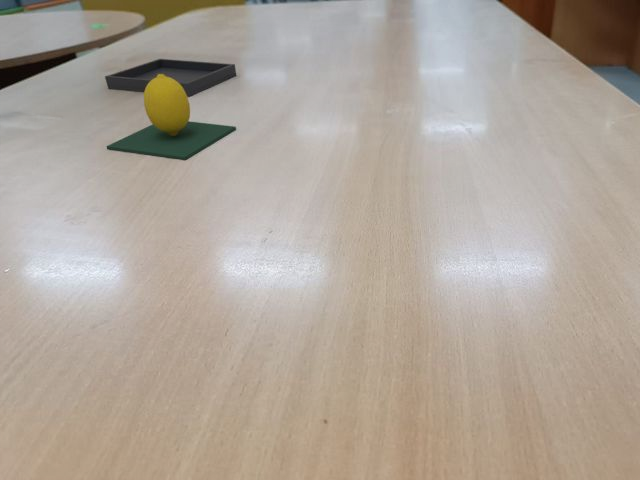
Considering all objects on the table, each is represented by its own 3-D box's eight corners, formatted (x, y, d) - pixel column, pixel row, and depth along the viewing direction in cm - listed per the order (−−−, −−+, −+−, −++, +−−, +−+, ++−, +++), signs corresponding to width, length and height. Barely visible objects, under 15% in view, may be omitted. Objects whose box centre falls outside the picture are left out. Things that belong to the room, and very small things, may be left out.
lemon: (163, 146, 66) (147, 81, 61) (145, 135, 69) (130, 73, 65) (202, 136, 69) (190, 74, 64) (184, 126, 72) (171, 66, 68)
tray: (108, 88, 91) (104, 76, 90) (162, 69, 103) (159, 58, 102) (189, 96, 86) (187, 83, 85) (236, 75, 98) (234, 64, 97)
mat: (106, 149, 66) (106, 146, 66) (165, 121, 75) (164, 118, 75) (185, 160, 63) (184, 156, 62) (236, 129, 72) (235, 126, 72)
